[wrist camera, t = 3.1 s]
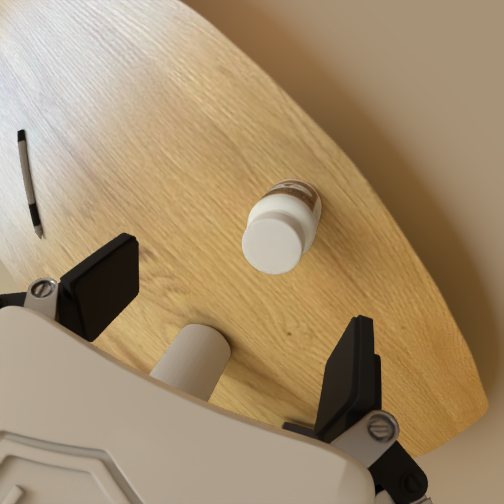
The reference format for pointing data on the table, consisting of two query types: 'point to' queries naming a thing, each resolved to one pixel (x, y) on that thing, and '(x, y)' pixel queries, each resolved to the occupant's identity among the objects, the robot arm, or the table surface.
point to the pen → (28, 183)
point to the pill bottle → (282, 226)
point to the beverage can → (194, 361)
